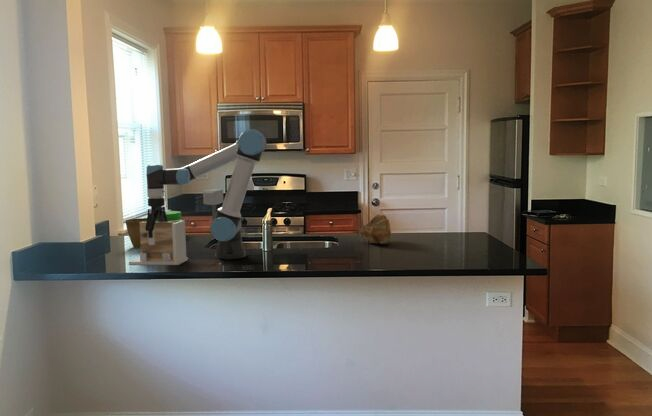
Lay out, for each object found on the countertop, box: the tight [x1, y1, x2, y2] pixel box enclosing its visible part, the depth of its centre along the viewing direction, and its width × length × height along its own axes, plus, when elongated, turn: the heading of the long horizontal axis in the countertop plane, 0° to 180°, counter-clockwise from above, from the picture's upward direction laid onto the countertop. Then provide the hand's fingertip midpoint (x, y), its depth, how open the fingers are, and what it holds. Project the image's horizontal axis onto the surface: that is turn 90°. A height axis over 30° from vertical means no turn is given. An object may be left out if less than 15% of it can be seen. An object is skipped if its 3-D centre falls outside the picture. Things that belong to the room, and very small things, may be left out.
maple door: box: [140, 222, 175, 260], centre depth 252 cm, size 4×16×18 cm, turn 83°
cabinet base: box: [128, 219, 189, 266], centre depth 253 cm, size 12×24×19 cm, turn 83°
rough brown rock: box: [359, 214, 392, 245], centre depth 301 cm, size 23×17×15 cm
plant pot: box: [125, 217, 147, 249], centre depth 293 cm, size 15×15×16 cm
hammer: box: [202, 188, 224, 240], centre depth 317 cm, size 15×8×30 cm, turn 172°
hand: (158, 242), depth 253 cm, fingers open, 13 cm apart
